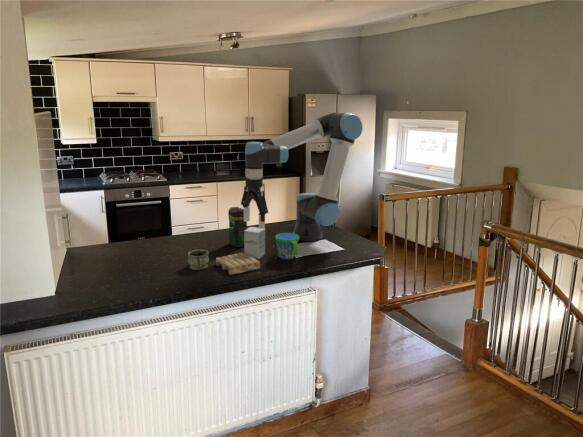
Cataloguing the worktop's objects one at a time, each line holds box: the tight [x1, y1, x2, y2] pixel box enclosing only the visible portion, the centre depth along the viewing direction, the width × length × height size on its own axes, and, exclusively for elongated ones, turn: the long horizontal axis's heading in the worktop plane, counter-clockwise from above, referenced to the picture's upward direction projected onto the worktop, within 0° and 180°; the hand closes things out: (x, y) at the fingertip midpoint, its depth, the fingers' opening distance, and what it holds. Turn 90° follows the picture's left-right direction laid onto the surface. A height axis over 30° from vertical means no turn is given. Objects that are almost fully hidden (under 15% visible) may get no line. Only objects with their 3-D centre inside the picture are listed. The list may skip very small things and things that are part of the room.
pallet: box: [215, 252, 261, 276], centre depth 198 cm, size 14×14×3 cm
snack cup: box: [274, 232, 300, 261], centre depth 209 cm, size 16×10×10 cm
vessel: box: [187, 249, 210, 271], centre depth 198 cm, size 12×9×6 cm
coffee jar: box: [227, 206, 248, 248], centre depth 225 cm, size 10×8×19 cm
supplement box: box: [243, 226, 266, 260], centre depth 211 cm, size 7×7×13 cm
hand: (253, 224), depth 208 cm, fingers open, 13 cm apart
